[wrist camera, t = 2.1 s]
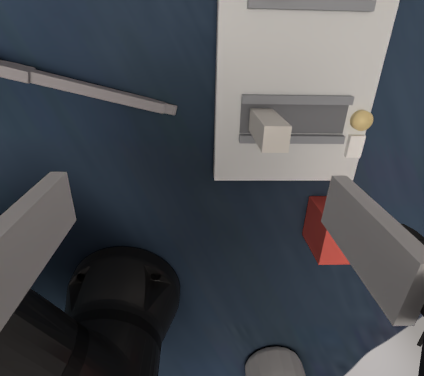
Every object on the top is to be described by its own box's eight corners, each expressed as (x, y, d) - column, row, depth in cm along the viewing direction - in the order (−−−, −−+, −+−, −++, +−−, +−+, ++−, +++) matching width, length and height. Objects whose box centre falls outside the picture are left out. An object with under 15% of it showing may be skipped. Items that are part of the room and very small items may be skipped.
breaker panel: (213, 173, 35) (214, 183, 32) (220, -129, 23) (223, -150, 21) (345, 173, 35) (356, 183, 33) (416, -120, 24) (441, -138, 21)
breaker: (248, 129, 30) (261, 152, 24) (250, 108, 29) (264, 126, 23) (269, 130, 30) (288, 152, 24) (272, 108, 29) (292, 126, 23)
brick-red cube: (302, 234, 39) (318, 264, 34) (309, 196, 37) (328, 222, 31) (344, 234, 40) (367, 264, 34) (354, 196, 37) (381, 222, 32)
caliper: (-30, 56, 28) (-87, 60, 23) (-31, 45, 28) (-89, 45, 22) (175, 114, 32) (170, 130, 26) (177, 104, 31) (173, 118, 26)
